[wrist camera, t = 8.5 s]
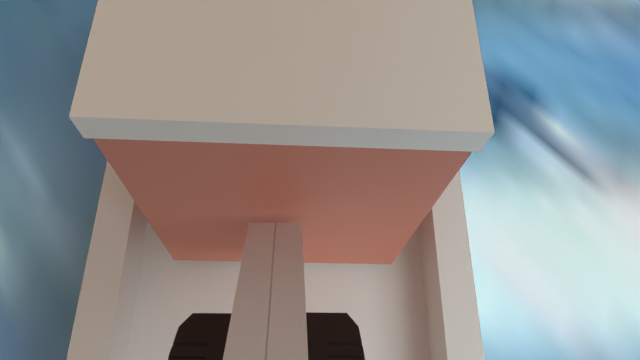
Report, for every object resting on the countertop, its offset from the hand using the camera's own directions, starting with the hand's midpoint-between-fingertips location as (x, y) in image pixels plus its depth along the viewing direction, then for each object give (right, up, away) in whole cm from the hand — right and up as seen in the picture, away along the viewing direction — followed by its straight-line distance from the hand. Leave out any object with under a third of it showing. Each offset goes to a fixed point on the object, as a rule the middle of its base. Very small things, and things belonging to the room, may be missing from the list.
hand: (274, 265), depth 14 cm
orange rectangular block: (0, +2, +5) cm, 5 cm away
